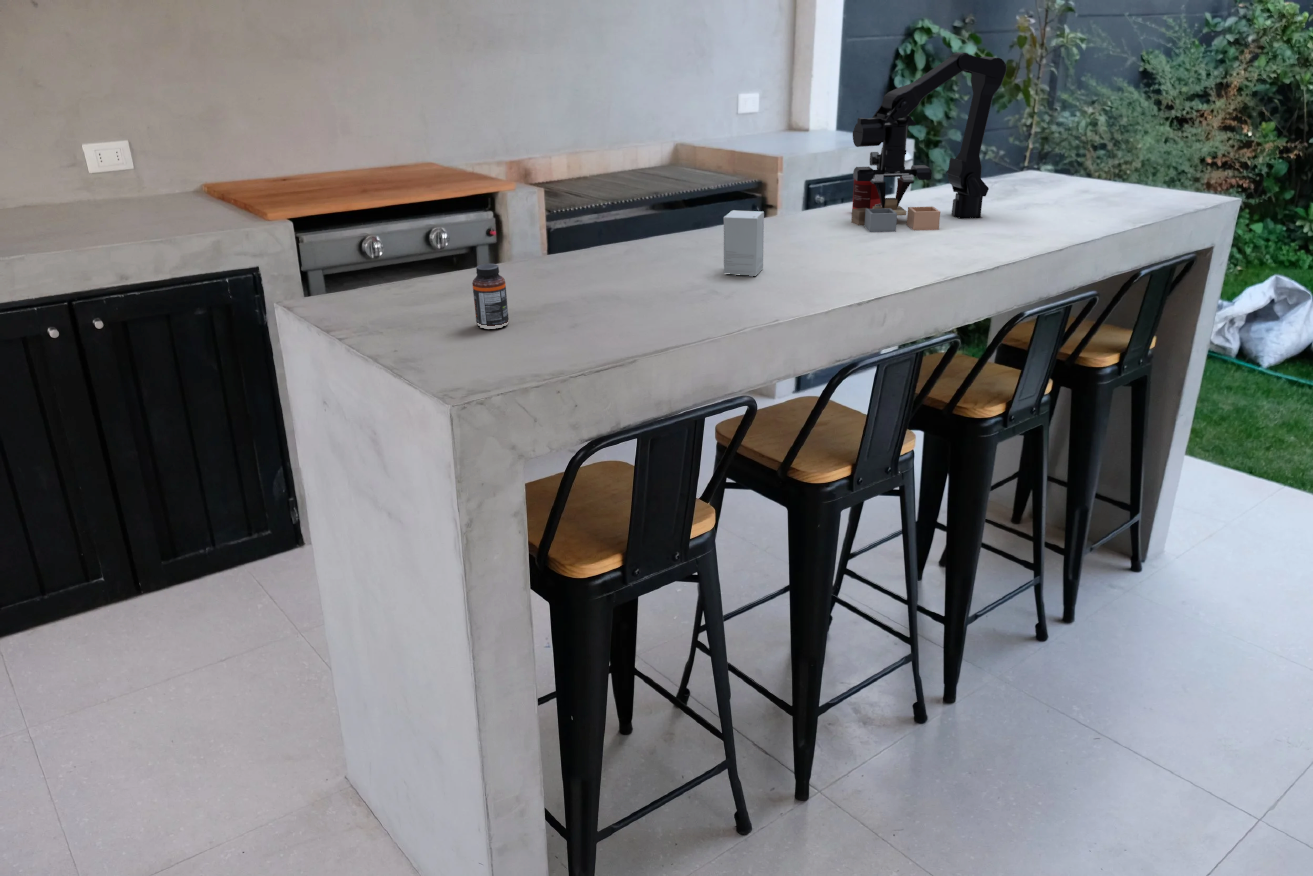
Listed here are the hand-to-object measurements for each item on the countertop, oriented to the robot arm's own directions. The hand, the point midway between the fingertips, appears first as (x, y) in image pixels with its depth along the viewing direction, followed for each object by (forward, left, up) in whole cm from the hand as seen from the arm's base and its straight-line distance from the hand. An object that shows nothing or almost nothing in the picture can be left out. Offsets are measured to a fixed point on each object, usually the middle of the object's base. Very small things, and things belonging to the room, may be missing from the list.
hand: (889, 207), depth 254 cm
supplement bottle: (+92, +78, -4) cm, 121 cm away
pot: (-7, +7, -4) cm, 11 cm away
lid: (0, 0, -1) cm, 1 cm away
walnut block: (+7, +1, -4) cm, 8 cm away
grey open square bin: (+4, +8, -4) cm, 10 cm away
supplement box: (+42, +44, -4) cm, 61 cm away
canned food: (+3, -12, -4) cm, 13 cm away
